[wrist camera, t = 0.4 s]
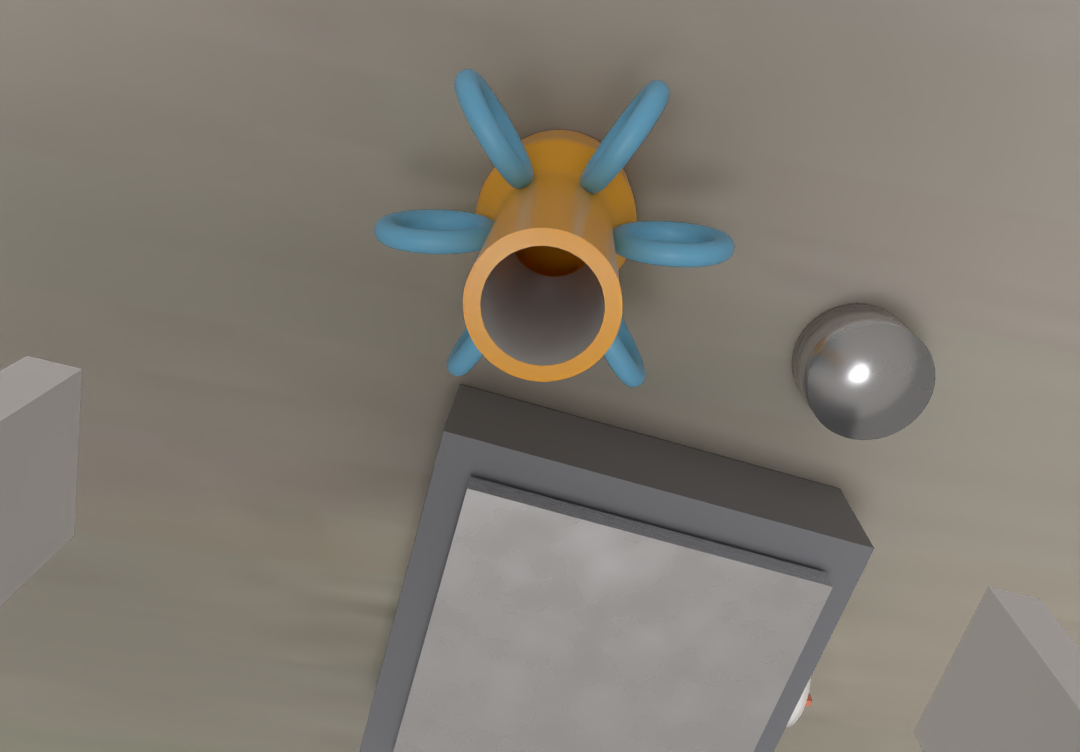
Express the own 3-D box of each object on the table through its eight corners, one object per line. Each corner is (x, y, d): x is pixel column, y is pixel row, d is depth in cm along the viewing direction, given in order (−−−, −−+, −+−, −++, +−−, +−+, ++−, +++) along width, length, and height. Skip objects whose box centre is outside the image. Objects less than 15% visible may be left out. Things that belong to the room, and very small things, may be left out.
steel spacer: (774, 394, 38) (789, 421, 35) (817, 288, 36) (836, 309, 34) (880, 423, 38) (903, 453, 36) (928, 320, 37) (957, 343, 34)
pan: (408, 693, 43) (387, 771, 39) (481, 434, 38) (467, 488, 33) (692, 766, 44) (705, 851, 40) (803, 522, 39) (833, 587, 34)
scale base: (379, 691, 45) (355, 766, 40) (460, 384, 39) (443, 430, 34) (722, 778, 46) (738, 861, 41) (857, 493, 40) (893, 553, 35)
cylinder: (722, 75, 33) (822, 98, 20) (694, 330, 37) (760, 503, 23) (409, 60, 34) (287, 72, 20) (412, 315, 38) (311, 476, 24)
